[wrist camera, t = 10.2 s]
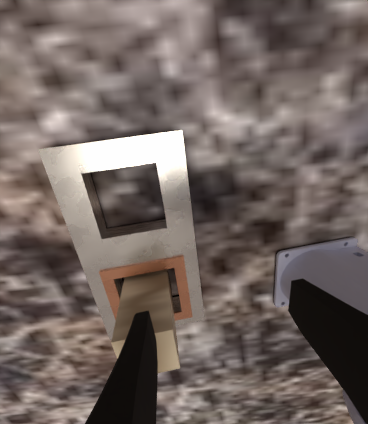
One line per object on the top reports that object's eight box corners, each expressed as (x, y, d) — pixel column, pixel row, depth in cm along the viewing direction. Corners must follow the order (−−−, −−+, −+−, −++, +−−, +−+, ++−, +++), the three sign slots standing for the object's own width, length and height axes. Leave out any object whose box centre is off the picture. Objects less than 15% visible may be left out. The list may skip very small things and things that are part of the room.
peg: (166, 260, 21) (172, 329, 13) (171, 290, 22) (180, 368, 15) (126, 267, 21) (111, 342, 13) (134, 297, 22) (125, 380, 15)
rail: (179, 130, 17) (182, 129, 15) (200, 305, 24) (205, 321, 22) (51, 147, 16) (36, 149, 14) (113, 323, 23) (109, 341, 21)
